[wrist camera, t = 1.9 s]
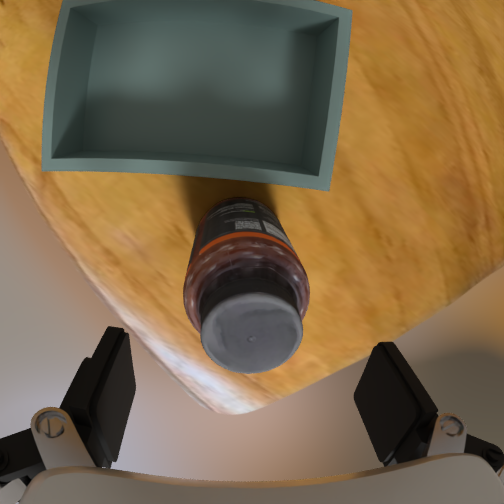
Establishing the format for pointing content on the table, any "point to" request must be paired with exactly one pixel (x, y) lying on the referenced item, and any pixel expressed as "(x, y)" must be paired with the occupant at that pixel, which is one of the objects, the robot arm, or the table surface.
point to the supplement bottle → (245, 288)
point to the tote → (198, 89)
